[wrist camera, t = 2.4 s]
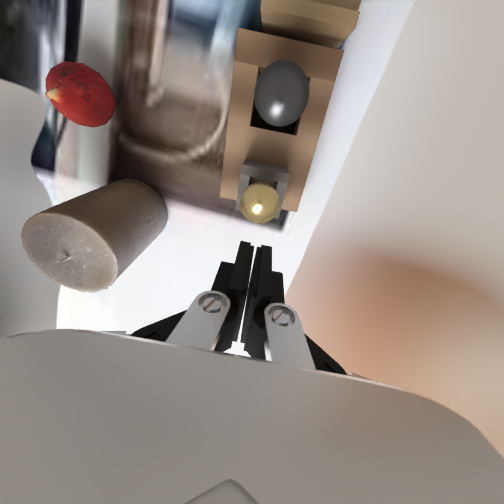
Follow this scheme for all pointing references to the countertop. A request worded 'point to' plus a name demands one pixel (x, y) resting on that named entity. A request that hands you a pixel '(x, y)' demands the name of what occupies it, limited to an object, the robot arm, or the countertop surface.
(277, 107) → the capped metal cylinder
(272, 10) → the frame
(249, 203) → the round brass peg
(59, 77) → the onion
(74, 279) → the pillar candle
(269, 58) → the socket block
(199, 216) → the countertop surface
